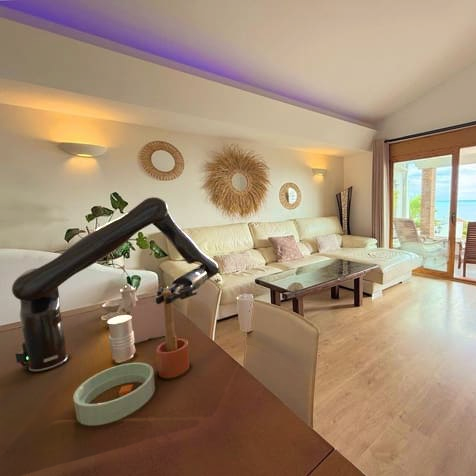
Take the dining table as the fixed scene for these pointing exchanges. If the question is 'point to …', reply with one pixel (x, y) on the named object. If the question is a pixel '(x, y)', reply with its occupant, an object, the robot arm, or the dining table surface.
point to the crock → (173, 359)
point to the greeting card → (147, 320)
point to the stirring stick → (169, 325)
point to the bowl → (117, 407)
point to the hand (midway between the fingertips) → (162, 301)
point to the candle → (121, 338)
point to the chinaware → (120, 304)
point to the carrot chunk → (125, 390)
